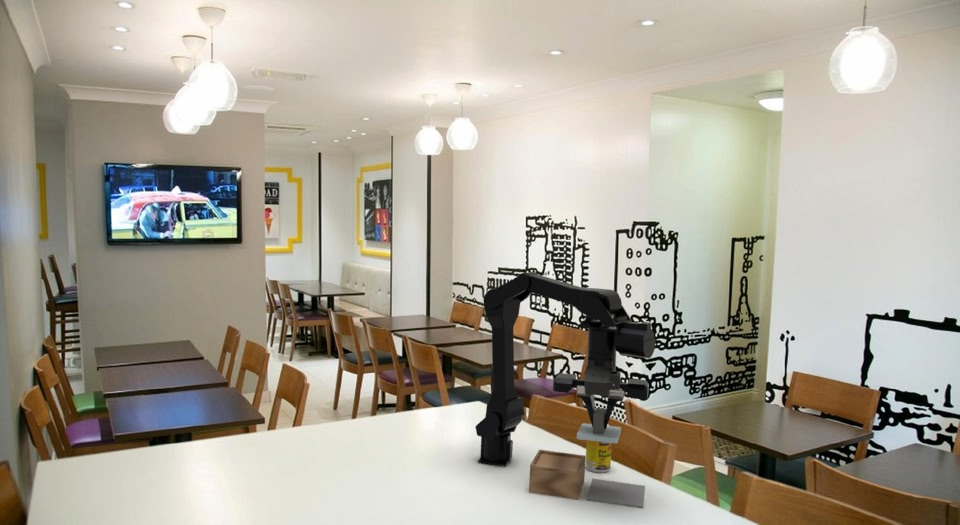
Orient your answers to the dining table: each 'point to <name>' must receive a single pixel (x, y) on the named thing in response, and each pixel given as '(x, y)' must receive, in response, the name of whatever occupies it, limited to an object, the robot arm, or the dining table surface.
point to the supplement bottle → (598, 456)
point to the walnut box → (557, 474)
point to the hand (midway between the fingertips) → (599, 427)
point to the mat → (616, 493)
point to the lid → (599, 429)
